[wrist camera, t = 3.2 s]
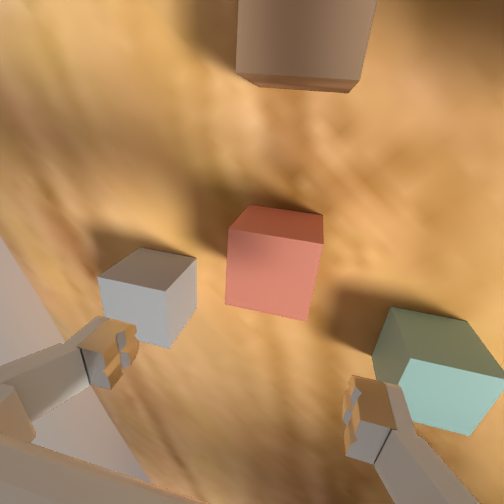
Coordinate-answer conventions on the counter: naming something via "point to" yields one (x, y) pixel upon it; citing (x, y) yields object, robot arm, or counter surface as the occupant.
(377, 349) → the muted teal block
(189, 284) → the slate grey block
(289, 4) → the walnut block
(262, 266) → the brick-red block
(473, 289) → the counter surface
